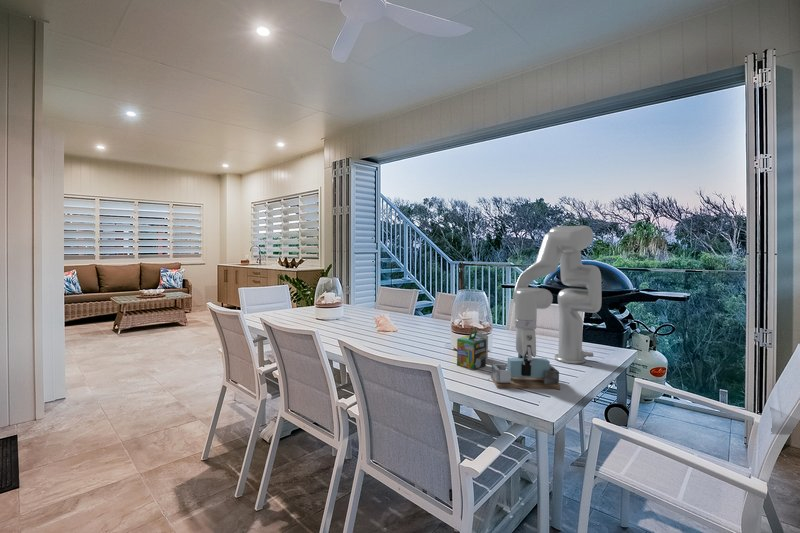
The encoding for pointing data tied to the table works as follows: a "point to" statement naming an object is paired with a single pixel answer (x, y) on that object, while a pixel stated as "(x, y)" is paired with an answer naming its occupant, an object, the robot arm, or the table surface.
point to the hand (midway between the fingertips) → (524, 372)
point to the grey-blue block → (536, 367)
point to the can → (484, 335)
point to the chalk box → (471, 351)
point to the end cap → (501, 373)
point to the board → (533, 381)
